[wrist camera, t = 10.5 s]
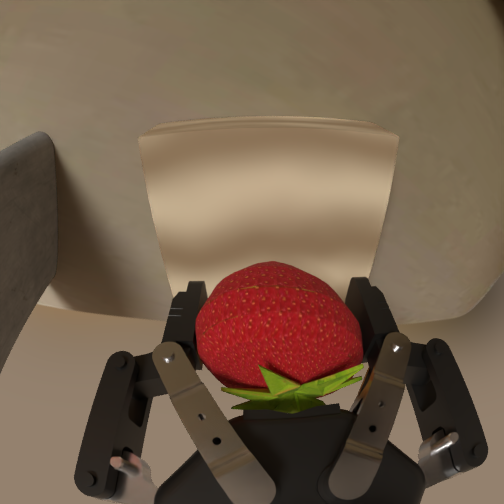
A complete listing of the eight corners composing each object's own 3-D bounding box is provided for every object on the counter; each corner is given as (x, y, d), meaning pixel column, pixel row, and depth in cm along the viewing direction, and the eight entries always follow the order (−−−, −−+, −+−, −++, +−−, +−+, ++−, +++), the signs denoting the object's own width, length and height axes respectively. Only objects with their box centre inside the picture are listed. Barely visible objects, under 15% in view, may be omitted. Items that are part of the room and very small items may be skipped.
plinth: (159, 123, 16) (137, 138, 13) (372, 122, 16) (399, 137, 13) (188, 285, 25) (180, 319, 21) (344, 281, 24) (356, 314, 21)
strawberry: (244, 187, 13) (237, 398, 5) (357, 256, 15) (423, 421, 7) (190, 271, 16) (155, 446, 8) (295, 318, 18) (314, 467, 10)
